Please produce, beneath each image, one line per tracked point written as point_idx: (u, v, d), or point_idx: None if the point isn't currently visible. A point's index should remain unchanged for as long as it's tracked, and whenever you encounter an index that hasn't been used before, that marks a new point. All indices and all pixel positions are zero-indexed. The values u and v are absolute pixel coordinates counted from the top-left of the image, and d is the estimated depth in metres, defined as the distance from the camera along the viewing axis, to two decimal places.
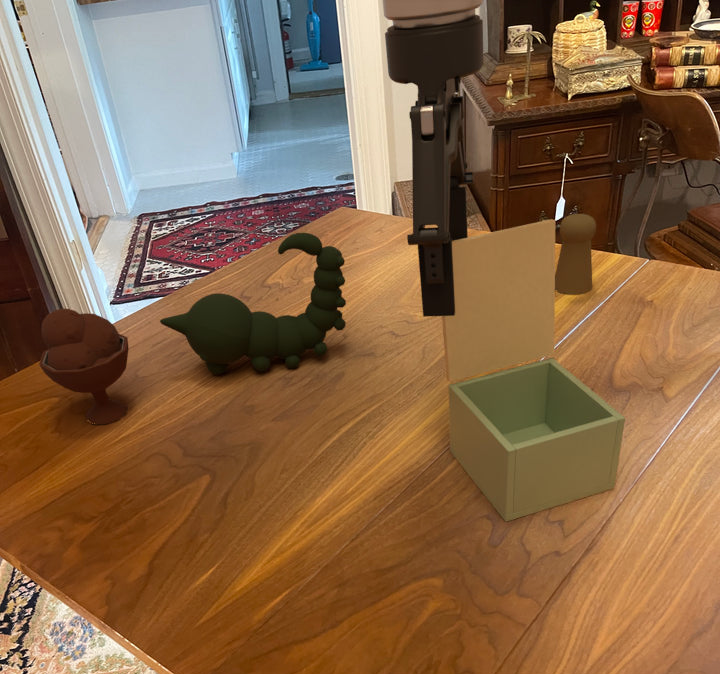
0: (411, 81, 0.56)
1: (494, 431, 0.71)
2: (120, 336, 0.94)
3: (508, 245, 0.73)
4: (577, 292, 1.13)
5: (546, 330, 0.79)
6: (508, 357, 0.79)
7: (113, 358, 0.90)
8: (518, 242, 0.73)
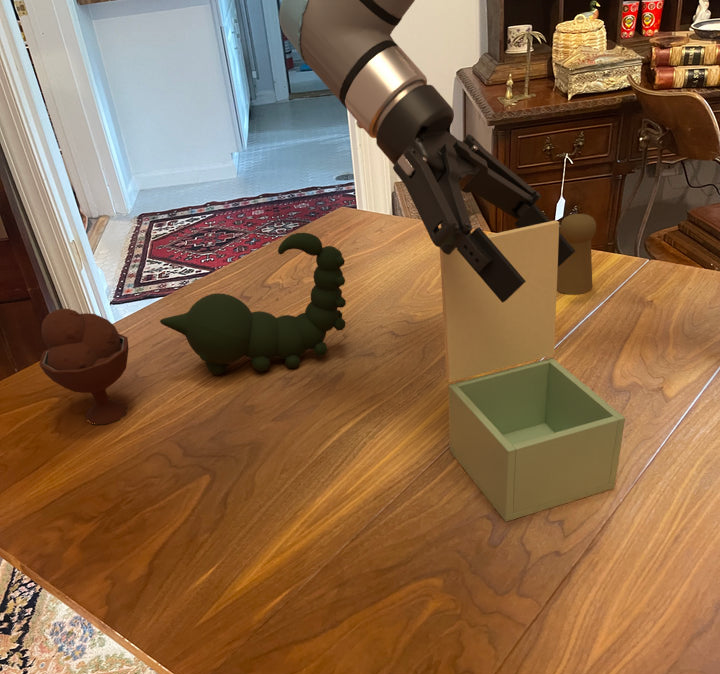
0: (399, 155, 0.71)
1: (494, 431, 0.71)
2: (120, 336, 0.94)
3: (511, 247, 0.72)
4: (577, 292, 1.13)
5: (546, 331, 0.79)
6: (508, 357, 0.79)
7: (113, 358, 0.90)
8: (522, 243, 0.73)
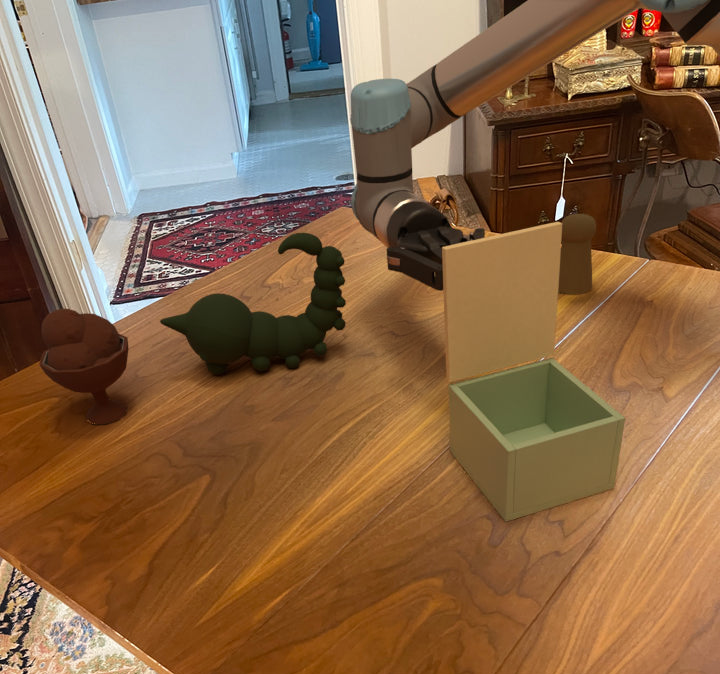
0: None
1: (494, 431, 0.71)
2: (120, 336, 0.94)
3: (514, 248, 0.72)
4: (577, 292, 1.13)
5: (547, 331, 0.79)
6: (509, 358, 0.79)
7: (113, 358, 0.90)
8: (524, 245, 0.72)
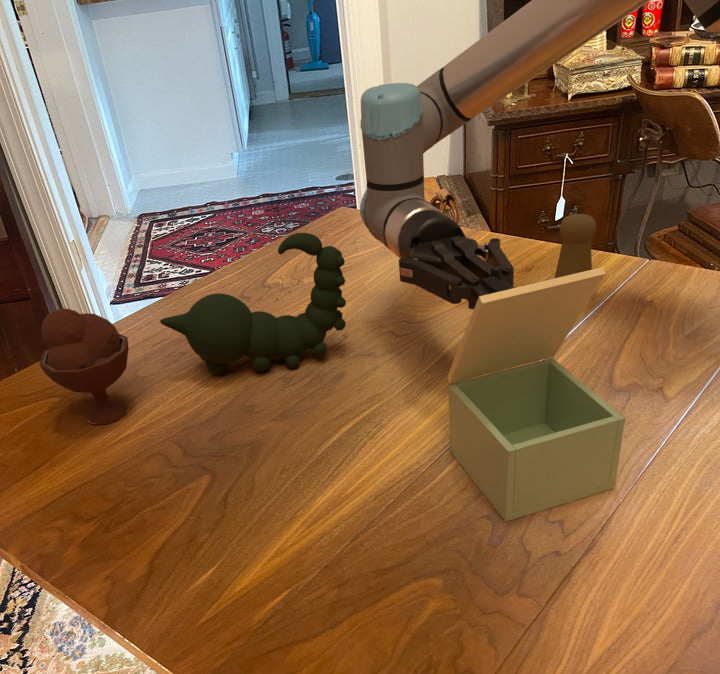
0: None
1: (494, 431, 0.71)
2: (120, 336, 0.94)
3: (550, 295, 0.68)
4: None
5: (555, 343, 0.78)
6: (511, 363, 0.79)
7: (113, 358, 0.90)
8: (561, 292, 0.68)
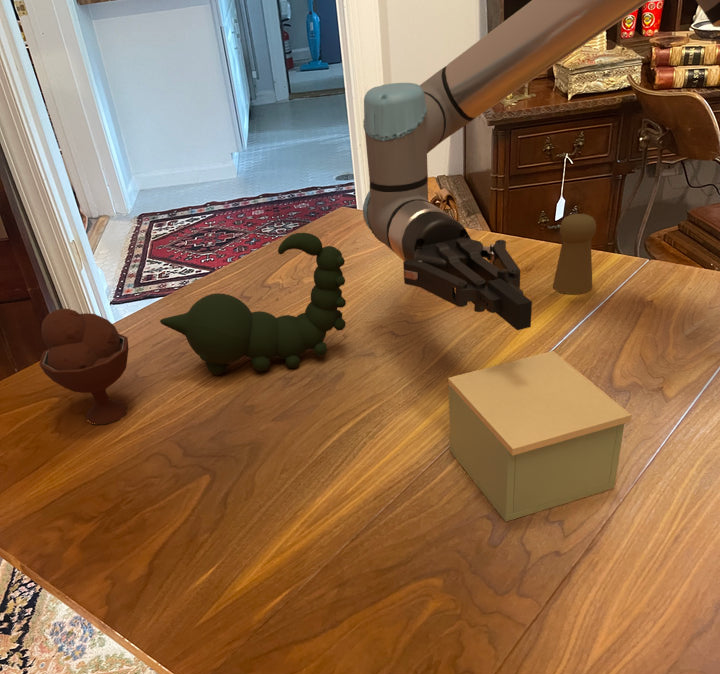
0: None
1: None
2: (120, 336, 0.94)
3: None
4: (577, 292, 1.13)
5: None
6: None
7: (113, 358, 0.90)
8: None
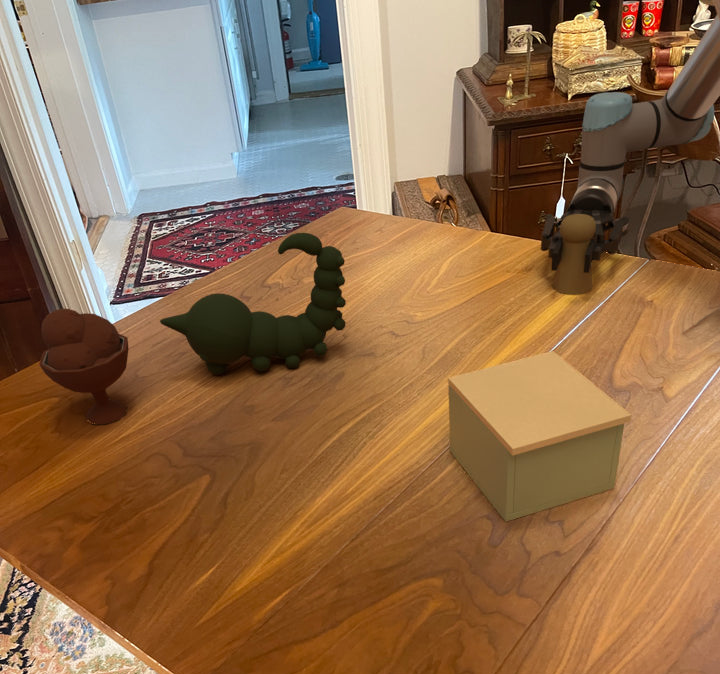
0: None
1: None
2: (120, 336, 0.94)
3: None
4: (577, 292, 1.13)
5: None
6: None
7: (113, 358, 0.90)
8: None
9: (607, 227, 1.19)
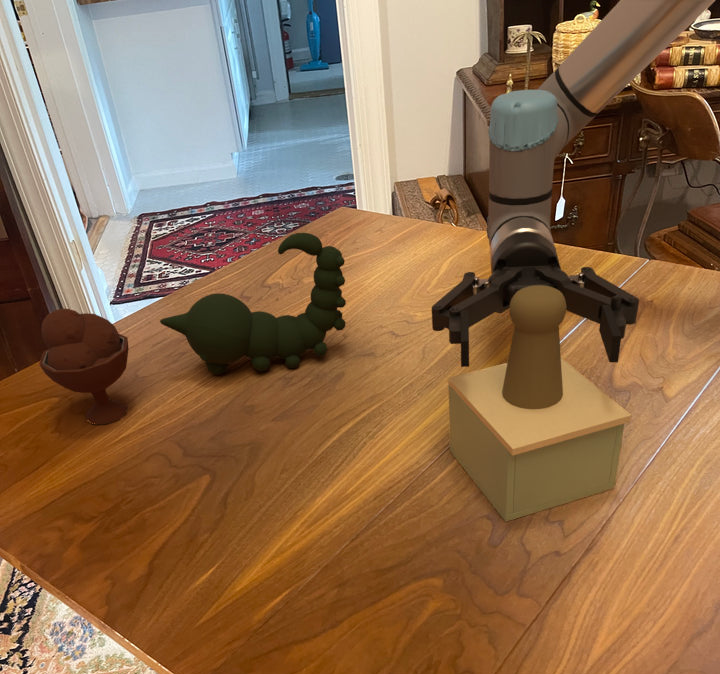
0: None
1: None
2: (120, 336, 0.94)
3: None
4: (546, 405, 0.72)
5: None
6: None
7: (113, 358, 0.90)
8: None
9: None
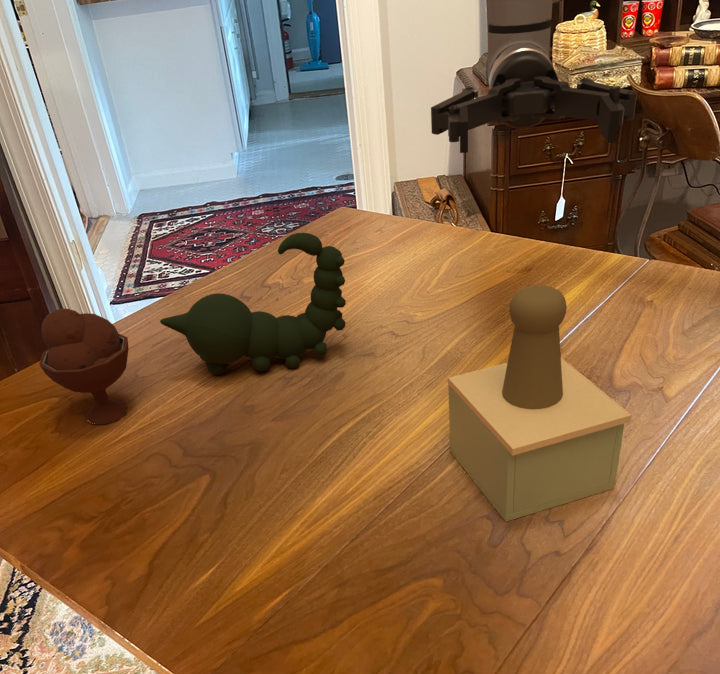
0: None
1: None
2: (120, 336, 0.94)
3: None
4: (546, 405, 0.72)
5: None
6: None
7: (113, 358, 0.90)
8: None
9: None
